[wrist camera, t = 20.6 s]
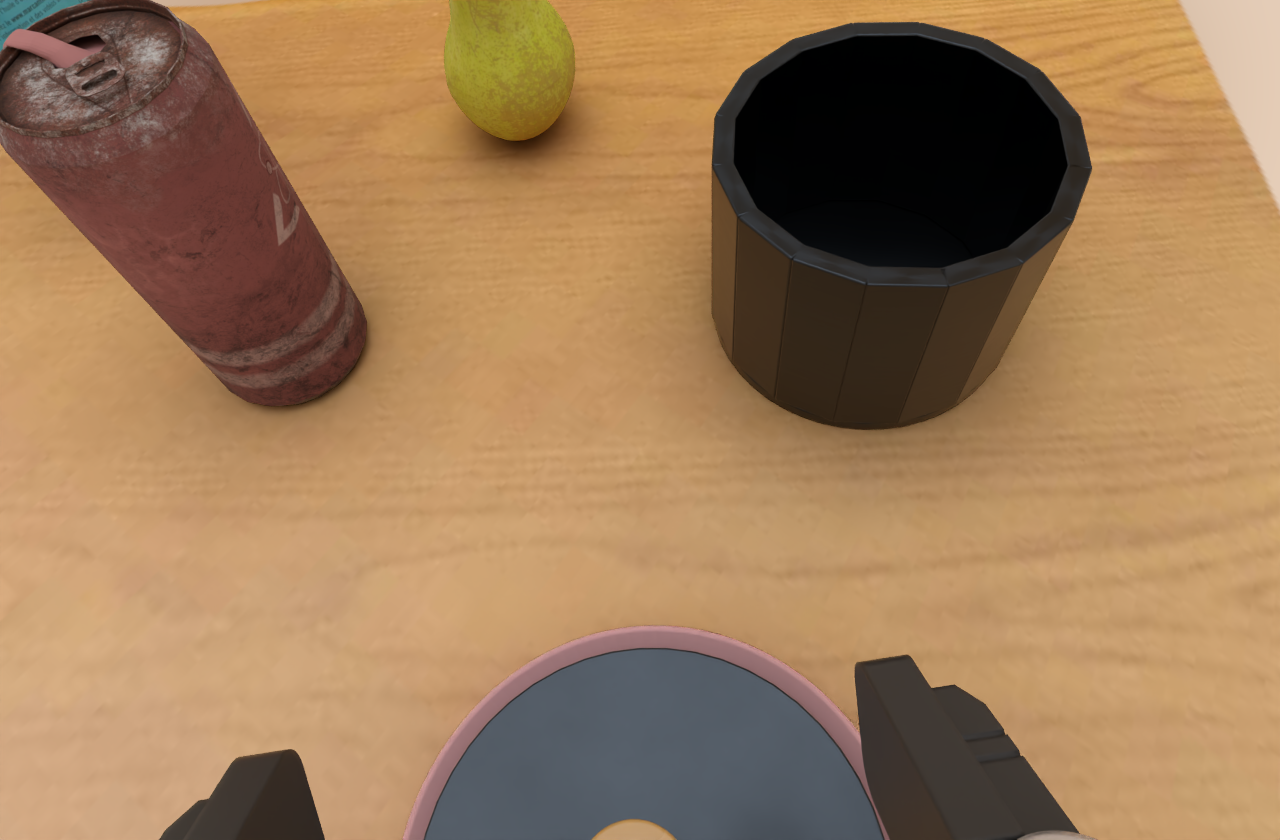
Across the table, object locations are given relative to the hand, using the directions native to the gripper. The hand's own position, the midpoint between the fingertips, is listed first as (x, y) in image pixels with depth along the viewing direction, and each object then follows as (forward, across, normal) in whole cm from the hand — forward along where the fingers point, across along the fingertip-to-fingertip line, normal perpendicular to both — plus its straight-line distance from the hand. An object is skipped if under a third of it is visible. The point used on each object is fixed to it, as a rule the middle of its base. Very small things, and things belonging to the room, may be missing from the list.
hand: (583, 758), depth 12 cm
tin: (+24, -11, -2) cm, 26 cm away
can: (+25, +12, -3) cm, 28 cm away
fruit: (+33, +2, -11) cm, 35 cm away
